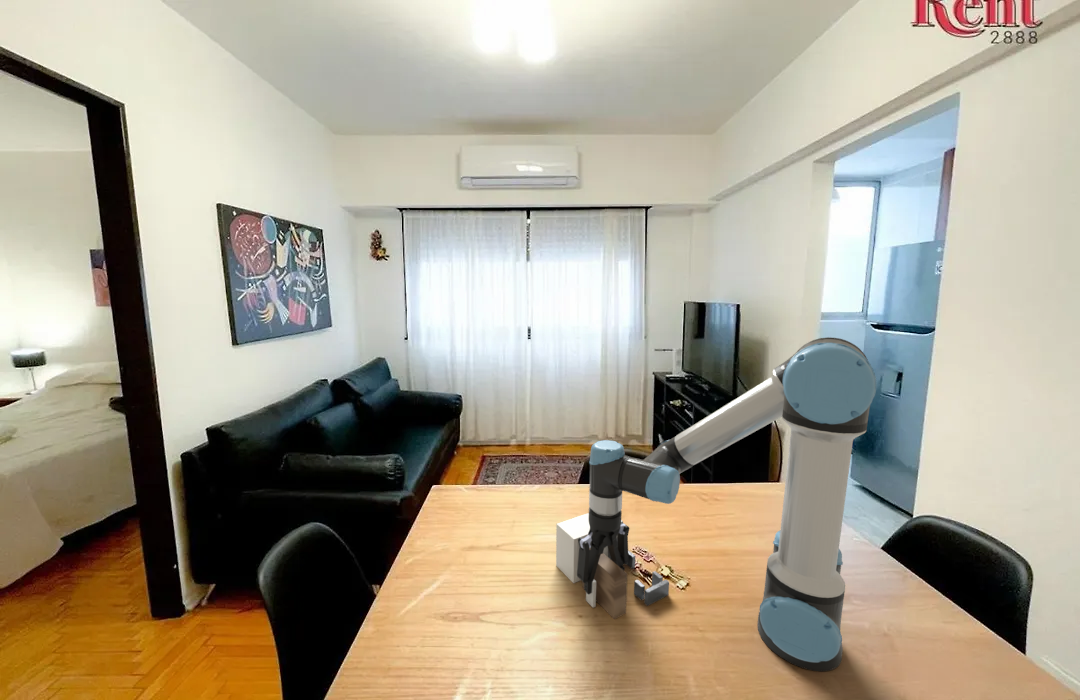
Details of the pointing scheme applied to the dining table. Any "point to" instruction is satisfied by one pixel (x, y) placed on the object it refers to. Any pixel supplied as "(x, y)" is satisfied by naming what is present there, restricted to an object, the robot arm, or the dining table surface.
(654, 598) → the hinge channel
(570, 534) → the cabinet
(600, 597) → the door
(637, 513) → the dining table surface
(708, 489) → the dining table surface
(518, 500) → the dining table surface
